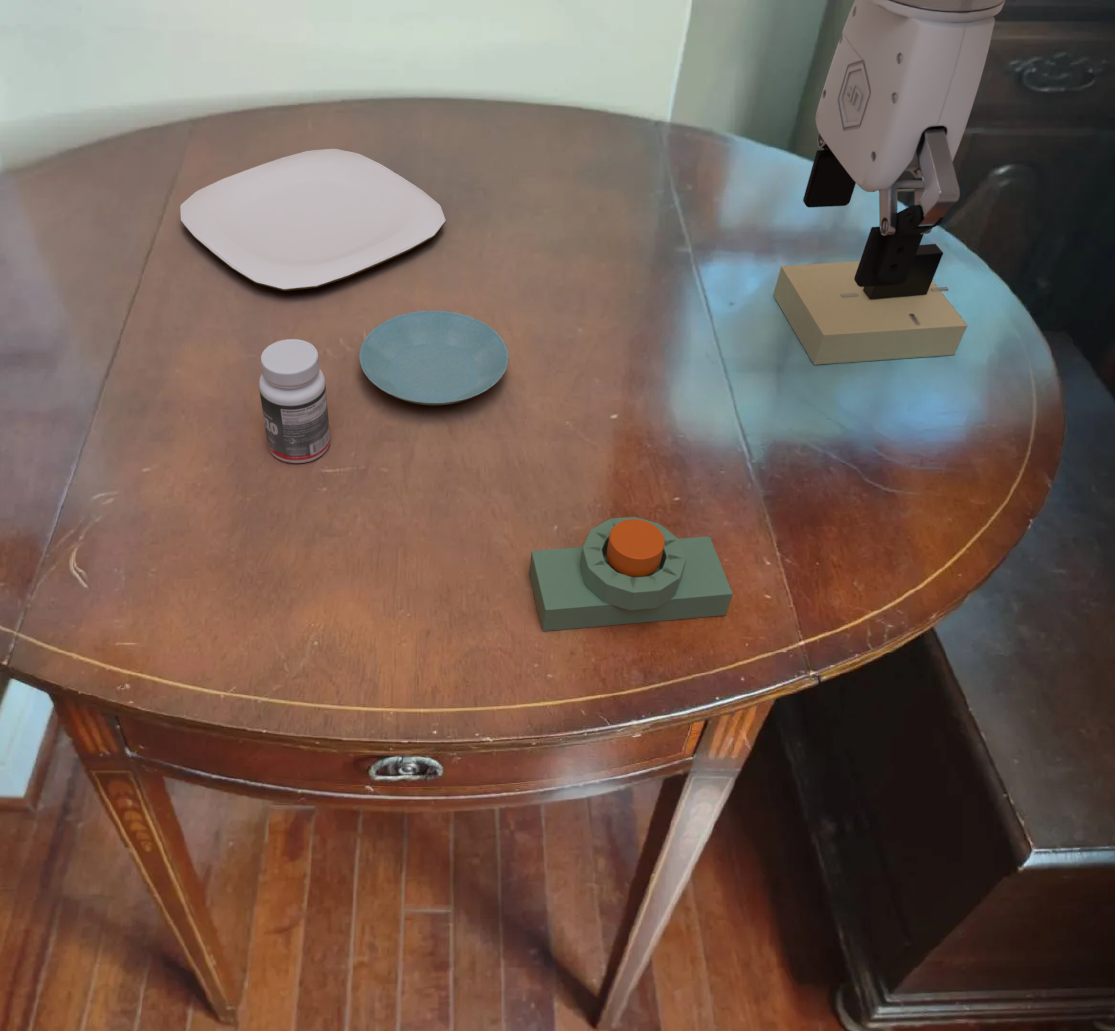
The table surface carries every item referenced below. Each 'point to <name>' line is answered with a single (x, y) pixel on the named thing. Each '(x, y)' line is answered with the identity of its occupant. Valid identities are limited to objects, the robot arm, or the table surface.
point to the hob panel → (863, 317)
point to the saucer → (434, 357)
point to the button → (635, 547)
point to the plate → (311, 218)
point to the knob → (912, 276)
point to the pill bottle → (294, 401)
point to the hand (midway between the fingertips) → (850, 242)
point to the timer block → (627, 583)
